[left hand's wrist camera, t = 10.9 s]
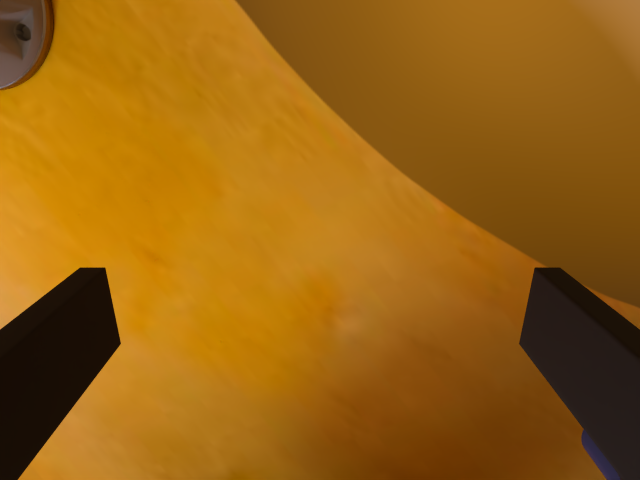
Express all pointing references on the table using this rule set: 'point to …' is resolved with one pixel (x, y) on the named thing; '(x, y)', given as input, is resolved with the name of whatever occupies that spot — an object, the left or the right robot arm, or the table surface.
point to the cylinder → (599, 458)
